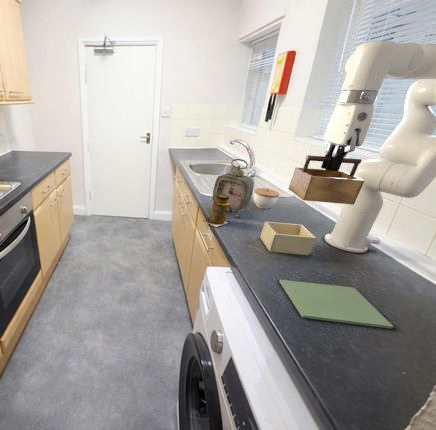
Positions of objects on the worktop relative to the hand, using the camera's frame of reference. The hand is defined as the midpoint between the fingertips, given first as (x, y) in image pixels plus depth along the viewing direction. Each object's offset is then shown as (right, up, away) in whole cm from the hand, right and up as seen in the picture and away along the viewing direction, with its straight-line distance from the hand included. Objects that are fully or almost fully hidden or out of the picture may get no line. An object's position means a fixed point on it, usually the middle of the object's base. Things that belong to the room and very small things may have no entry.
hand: (329, 169), depth 75 cm
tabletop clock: (-8, -12, +48) cm, 50 cm away
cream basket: (+1, -24, +22) cm, 33 cm away
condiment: (-18, -16, +39) cm, 45 cm away
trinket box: (+12, -9, +56) cm, 58 cm away
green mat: (-4, -36, -4) cm, 37 cm away
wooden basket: (0, -7, +3) cm, 8 cm away
